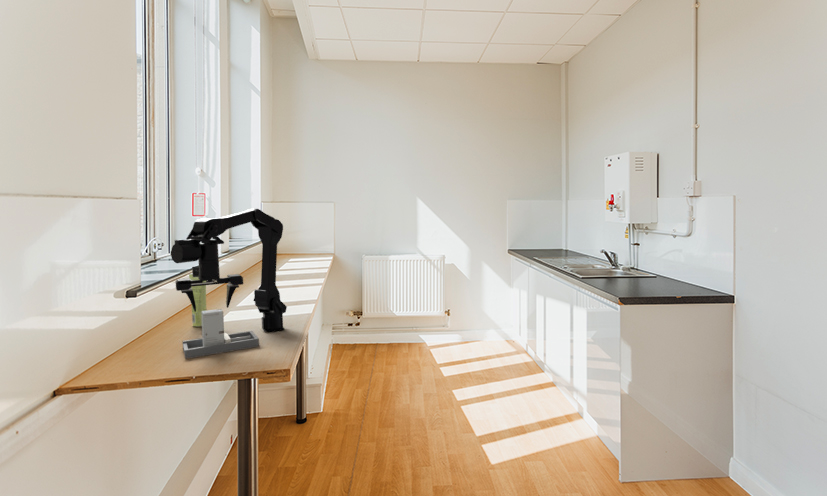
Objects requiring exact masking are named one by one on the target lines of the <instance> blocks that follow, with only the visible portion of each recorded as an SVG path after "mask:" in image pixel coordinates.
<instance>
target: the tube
mask: <svg viewBox="0 0 827 496" xmlns="http://www.w3.org/2000/svg"><path fill="white" fill-rule="evenodd" d="M188 278H190V280H191V281H193V280H199V278H198V277H193V275H192V273H188ZM203 282H206V281H203ZM192 290H193V295H194V300H195V305H196V312H195V311H194V309H193V306H192V304H191V303H190V304H191V321H192V327H195V328H196V327H197V328H198V327H202V315H201V311H207V285H203V286H193V287H192Z"/></svg>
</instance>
